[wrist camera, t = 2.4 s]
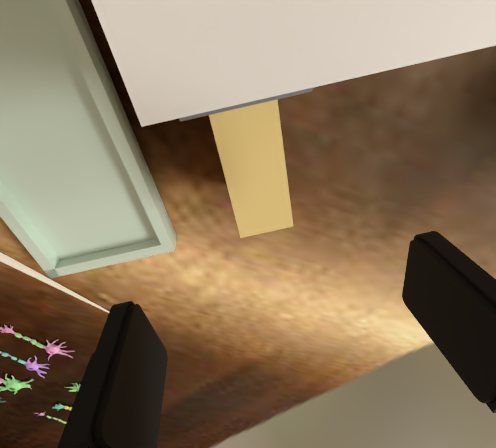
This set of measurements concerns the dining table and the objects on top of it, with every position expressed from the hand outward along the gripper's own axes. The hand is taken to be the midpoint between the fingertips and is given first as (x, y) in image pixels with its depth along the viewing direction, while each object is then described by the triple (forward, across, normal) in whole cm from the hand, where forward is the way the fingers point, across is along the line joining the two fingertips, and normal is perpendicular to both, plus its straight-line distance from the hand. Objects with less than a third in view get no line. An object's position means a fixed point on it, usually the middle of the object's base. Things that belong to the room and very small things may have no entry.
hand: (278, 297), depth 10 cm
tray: (+13, +12, -4) cm, 18 cm away
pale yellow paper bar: (+13, 0, -4) cm, 14 cm away
